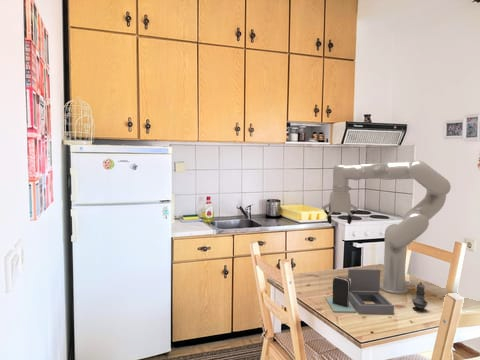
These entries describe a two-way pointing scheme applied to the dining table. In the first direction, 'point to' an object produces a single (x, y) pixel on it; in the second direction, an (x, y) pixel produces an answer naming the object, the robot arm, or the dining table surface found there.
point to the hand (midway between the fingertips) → (339, 223)
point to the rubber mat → (340, 307)
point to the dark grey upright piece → (420, 299)
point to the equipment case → (367, 292)
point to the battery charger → (341, 291)
